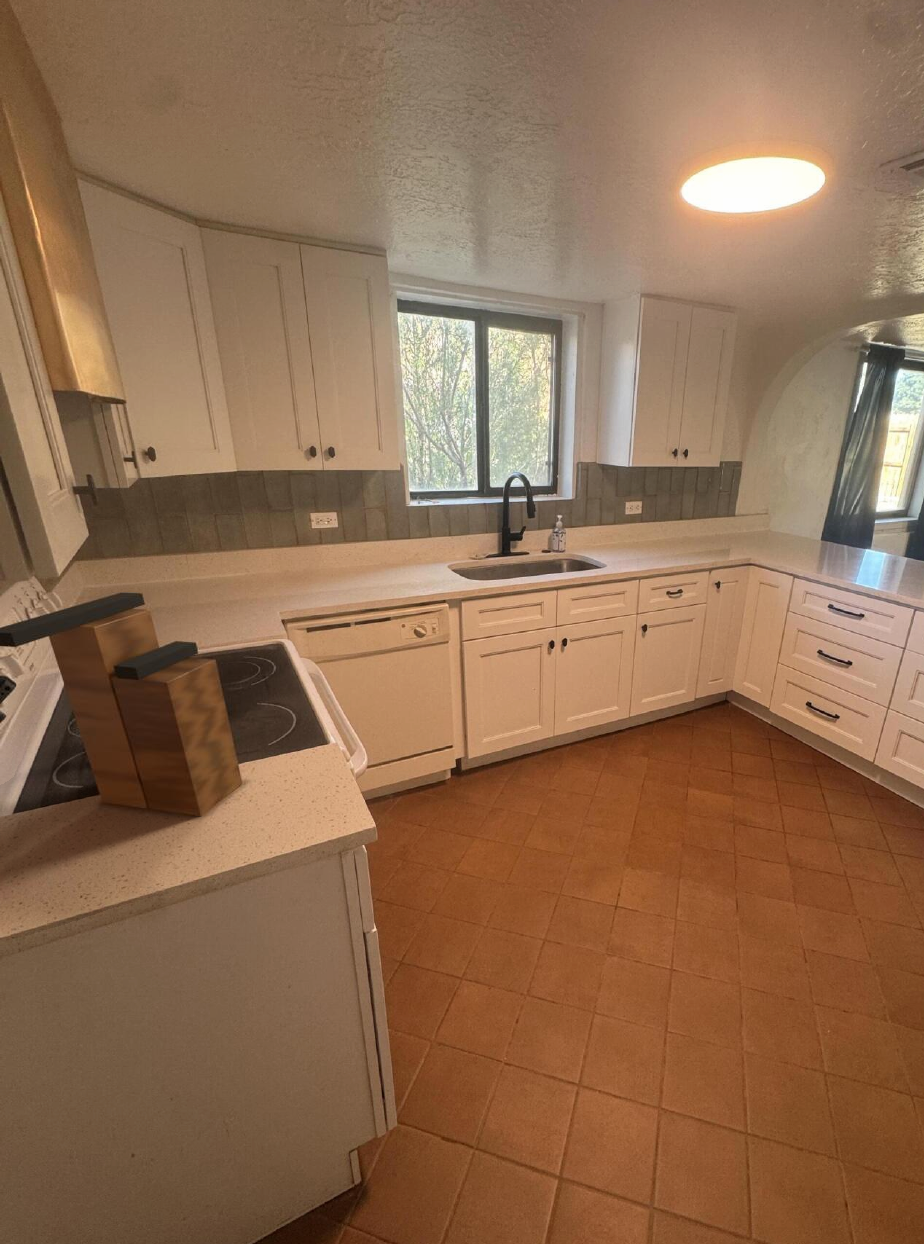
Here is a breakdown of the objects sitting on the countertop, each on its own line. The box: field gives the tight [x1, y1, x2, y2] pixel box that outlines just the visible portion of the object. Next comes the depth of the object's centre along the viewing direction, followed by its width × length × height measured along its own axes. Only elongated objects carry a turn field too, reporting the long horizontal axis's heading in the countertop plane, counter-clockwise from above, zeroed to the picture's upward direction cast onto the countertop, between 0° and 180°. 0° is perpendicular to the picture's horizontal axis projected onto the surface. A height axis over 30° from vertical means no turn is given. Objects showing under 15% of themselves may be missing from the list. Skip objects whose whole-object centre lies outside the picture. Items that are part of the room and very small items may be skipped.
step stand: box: [48, 608, 243, 817], centre depth 95 cm, size 10×20×32 cm, turn 79°
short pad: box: [113, 640, 199, 680], centre depth 92 cm, size 12×4×2 cm, turn 169°
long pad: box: [0, 592, 146, 648], centre depth 86 cm, size 22×4×2 cm, turn 172°
